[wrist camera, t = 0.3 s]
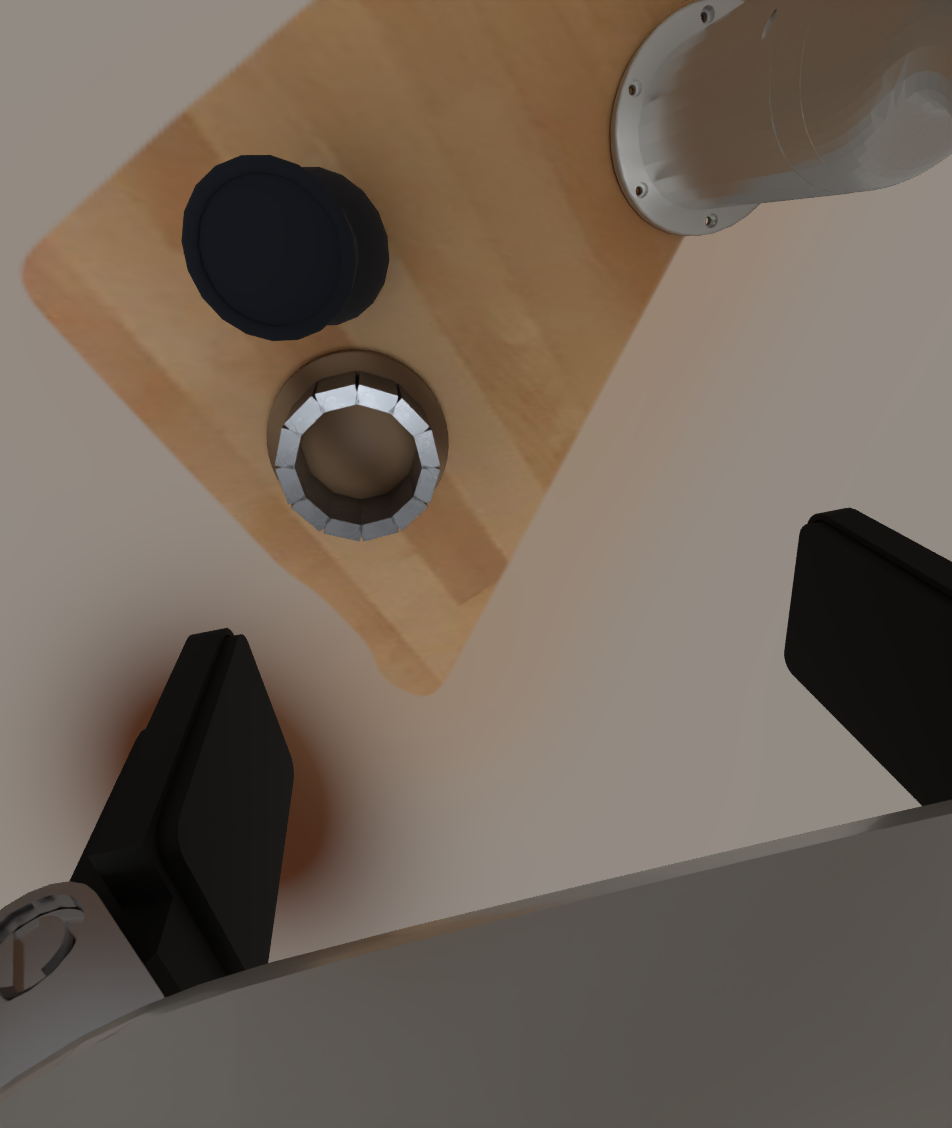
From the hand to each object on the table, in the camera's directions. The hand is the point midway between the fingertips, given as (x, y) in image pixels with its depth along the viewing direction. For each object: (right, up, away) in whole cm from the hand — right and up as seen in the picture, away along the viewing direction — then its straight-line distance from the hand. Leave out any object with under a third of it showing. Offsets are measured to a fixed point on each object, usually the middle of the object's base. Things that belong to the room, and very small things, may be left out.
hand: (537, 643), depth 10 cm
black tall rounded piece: (-10, +22, +30) cm, 39 cm away
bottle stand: (-10, +11, +36) cm, 39 cm away
